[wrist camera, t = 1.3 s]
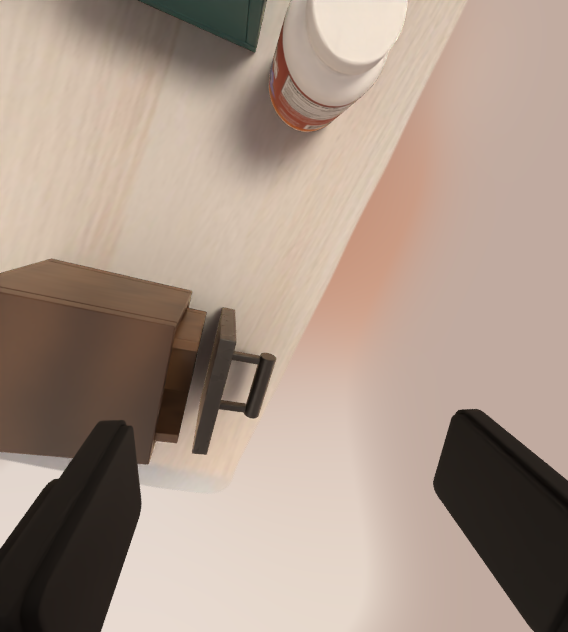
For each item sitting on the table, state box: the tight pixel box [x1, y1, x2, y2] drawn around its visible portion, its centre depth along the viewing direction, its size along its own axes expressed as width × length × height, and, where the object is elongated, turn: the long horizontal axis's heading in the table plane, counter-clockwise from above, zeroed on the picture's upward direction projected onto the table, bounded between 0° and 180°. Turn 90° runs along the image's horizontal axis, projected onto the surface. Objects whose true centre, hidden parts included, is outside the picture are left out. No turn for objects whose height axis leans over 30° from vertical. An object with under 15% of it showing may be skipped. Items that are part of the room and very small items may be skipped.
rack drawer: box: [154, 307, 276, 455], centre depth 25 cm, size 15×10×7 cm
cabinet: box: [0, 259, 192, 464], centre depth 24 cm, size 12×12×9 cm
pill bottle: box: [269, 0, 408, 132], centre depth 19 cm, size 6×6×11 cm
